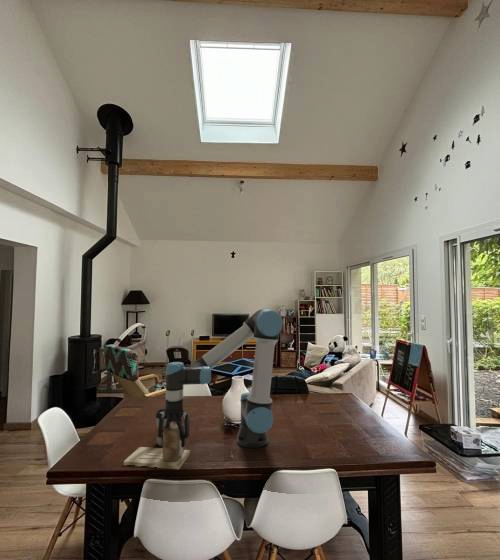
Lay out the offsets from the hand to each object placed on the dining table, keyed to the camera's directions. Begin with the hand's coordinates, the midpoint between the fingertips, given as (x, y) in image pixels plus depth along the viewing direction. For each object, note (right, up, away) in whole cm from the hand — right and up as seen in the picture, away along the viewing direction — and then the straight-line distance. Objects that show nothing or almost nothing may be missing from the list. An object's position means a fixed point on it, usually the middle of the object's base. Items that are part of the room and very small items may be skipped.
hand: (173, 453), depth 139 cm
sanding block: (0, -1, 0) cm, 1 cm away
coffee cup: (-9, -4, +17) cm, 20 cm away
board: (-7, -3, +1) cm, 7 cm away
